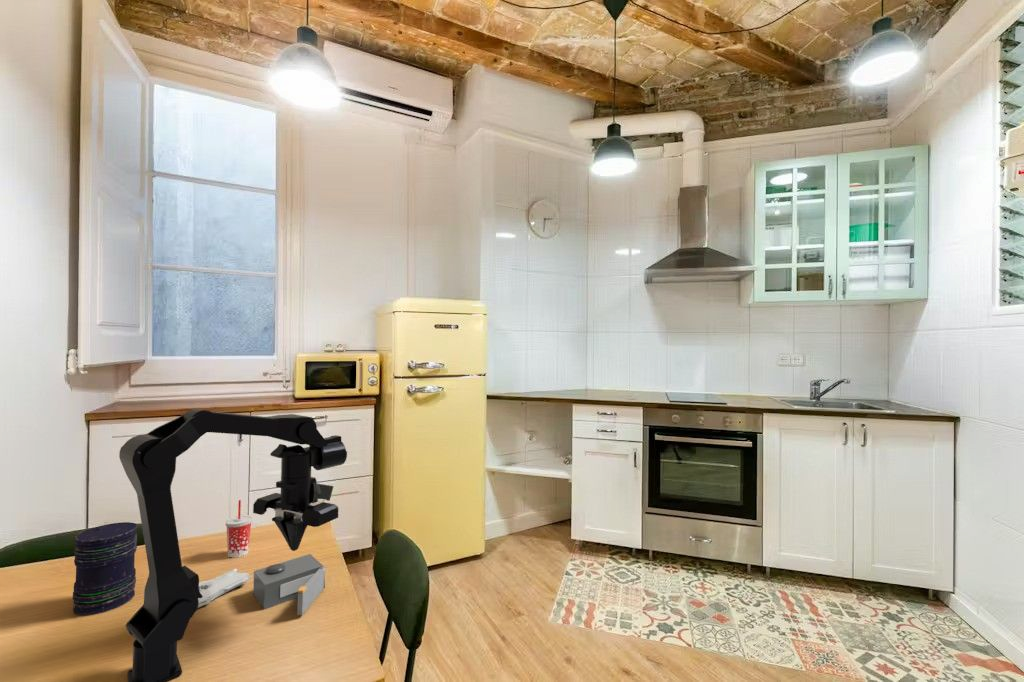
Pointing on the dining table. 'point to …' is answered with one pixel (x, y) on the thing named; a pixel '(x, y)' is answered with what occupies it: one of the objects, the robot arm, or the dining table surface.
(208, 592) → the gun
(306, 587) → the side door
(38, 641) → the dining table surface
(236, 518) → the beverage cup
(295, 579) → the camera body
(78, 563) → the dark blue cylinder
